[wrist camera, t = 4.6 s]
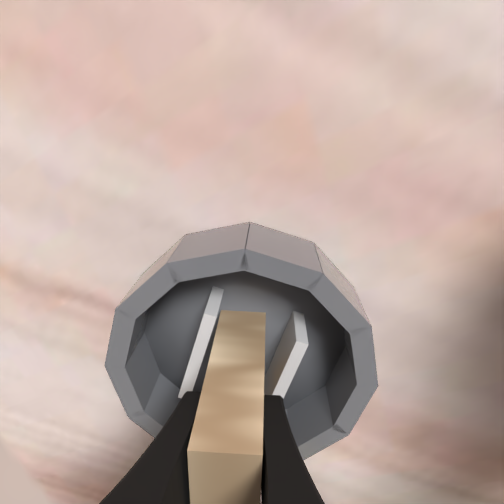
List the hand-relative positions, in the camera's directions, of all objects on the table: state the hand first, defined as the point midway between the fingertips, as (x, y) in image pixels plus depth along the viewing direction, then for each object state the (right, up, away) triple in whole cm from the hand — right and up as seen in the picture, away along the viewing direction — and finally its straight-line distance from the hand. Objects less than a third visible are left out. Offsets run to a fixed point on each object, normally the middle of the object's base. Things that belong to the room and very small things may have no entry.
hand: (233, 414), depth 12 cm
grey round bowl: (0, +2, +5) cm, 5 cm away
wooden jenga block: (0, +2, +4) cm, 4 cm away
